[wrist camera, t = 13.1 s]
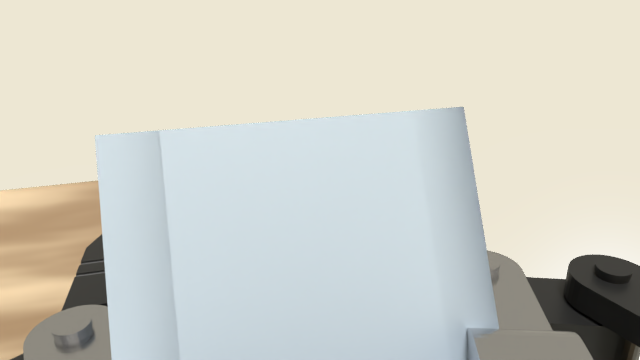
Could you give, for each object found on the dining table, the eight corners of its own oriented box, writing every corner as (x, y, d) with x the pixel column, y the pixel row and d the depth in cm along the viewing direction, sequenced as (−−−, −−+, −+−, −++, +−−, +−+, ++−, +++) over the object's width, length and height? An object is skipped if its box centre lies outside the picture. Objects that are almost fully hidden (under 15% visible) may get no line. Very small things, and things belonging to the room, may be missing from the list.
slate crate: (529, 516, 6) (463, 106, 7) (131, 617, 5) (94, 135, 6) (283, 301, 31) (274, 221, 32) (209, 312, 30) (201, 229, 31)
